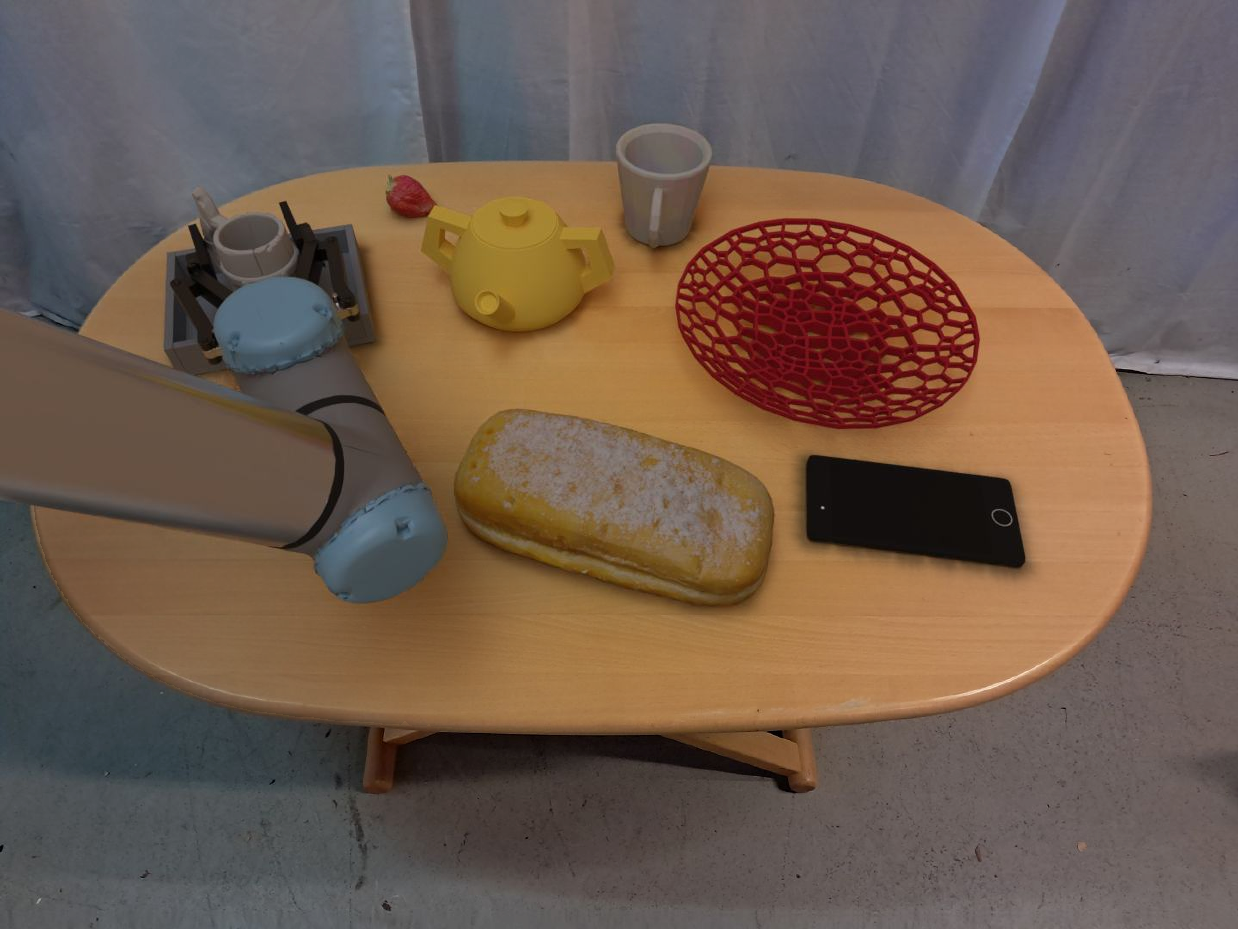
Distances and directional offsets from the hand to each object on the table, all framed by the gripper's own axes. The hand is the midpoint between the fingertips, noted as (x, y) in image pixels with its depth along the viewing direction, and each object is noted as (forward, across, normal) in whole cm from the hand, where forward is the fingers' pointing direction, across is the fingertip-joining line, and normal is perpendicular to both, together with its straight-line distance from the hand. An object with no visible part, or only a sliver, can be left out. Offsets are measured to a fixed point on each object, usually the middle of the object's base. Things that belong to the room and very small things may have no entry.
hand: (242, 224), depth 80 cm
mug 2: (-11, +41, -8) cm, 44 cm away
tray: (-5, 0, -7) cm, 9 cm away
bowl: (-34, +48, -8) cm, 59 cm away
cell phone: (-54, +43, -8) cm, 69 cm away
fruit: (+5, +18, -8) cm, 20 cm away
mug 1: (-5, -1, -7) cm, 8 cm away
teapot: (-15, +22, -8) cm, 28 cm away
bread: (-44, +19, -8) cm, 48 cm away
